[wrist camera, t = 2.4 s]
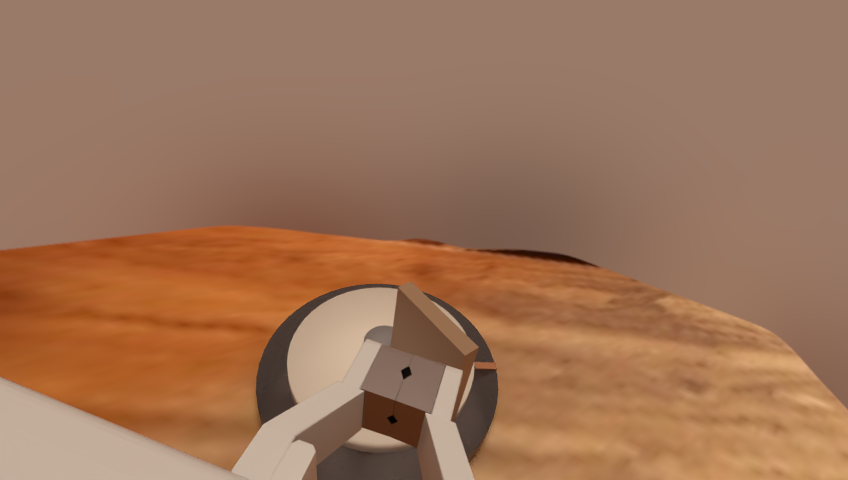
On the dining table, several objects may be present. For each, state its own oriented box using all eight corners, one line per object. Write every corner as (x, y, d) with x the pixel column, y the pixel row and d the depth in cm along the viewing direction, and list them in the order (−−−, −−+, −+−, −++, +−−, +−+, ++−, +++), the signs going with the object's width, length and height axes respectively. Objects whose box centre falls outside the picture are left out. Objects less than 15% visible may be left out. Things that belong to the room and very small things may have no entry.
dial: (258, 339, 35) (243, 245, 29) (402, 279, 44) (413, 198, 38) (352, 508, 26) (358, 421, 20) (512, 388, 35) (549, 303, 29)
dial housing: (199, 444, 30) (194, 428, 29) (330, 276, 47) (330, 262, 45) (469, 553, 26) (475, 541, 25) (505, 330, 43) (510, 316, 42)
